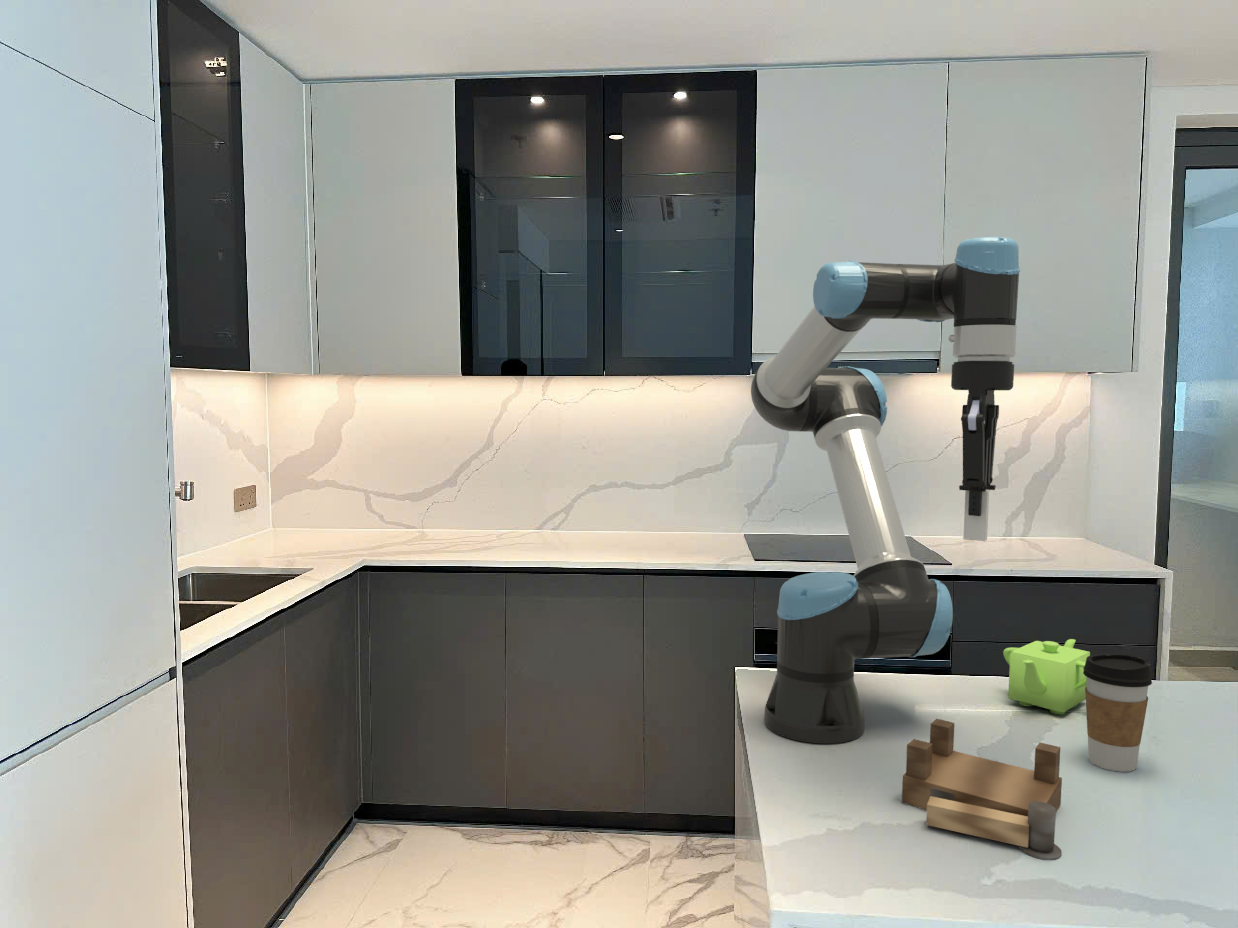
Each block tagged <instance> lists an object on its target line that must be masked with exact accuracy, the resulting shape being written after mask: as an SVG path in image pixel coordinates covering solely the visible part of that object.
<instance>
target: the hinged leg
mask: <svg viewBox="0 0 1238 928" xmlns="http://www.w3.org/2000/svg"><path fill="white" fill-rule="evenodd" d="M1056 814H1057V812H1056V809H1055V807H1053V806H1052V805H1050V804H1047V803H1044V802H1037V801H1035V802H1030V803H1029V805H1028V817H1027V816H1023V815H1018V814H1013V813H1008V812H1004V811H999V810H994V809H989V808H985V807H980V806H975V805H970V804H966V803H961V802H956V801H951V800H947V799H942V798H937V797H932V796H930V798H929V801H928V803H927V810H926V824H925V826H931V827H933V828H938V829H944V830H947V831H953V832H955V833H956V832H957V833H961V834H965V835H970V836H975V837H978V838H979V837H980V838H982V839H989V840H992V841H997V842H1001V843H1006V844H1010V845H1014V846H1018V847H1019V846H1023V847H1027V848H1028V846H1029V847H1031V848H1033V849H1035V850H1038V851H1043V852H1050V851H1052V850H1053V849H1054V844H1055V834H1056V833H1055V831H1056V817H1057V815H1056Z"/></svg>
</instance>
